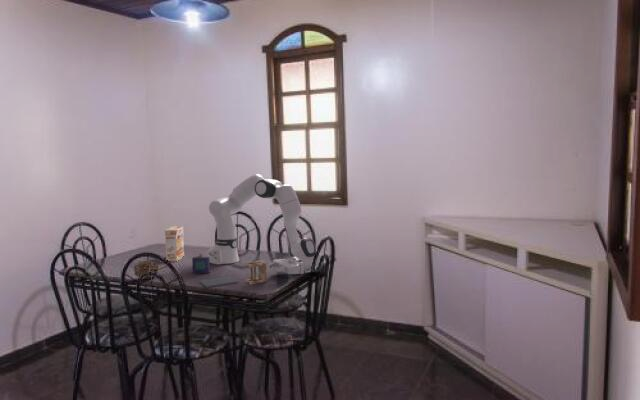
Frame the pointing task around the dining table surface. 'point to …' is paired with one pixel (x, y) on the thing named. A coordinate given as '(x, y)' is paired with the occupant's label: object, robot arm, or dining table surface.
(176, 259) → the coffeecake box
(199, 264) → the flask
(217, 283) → the mat
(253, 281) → the stool
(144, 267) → the pine cone
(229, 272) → the dining table surface
